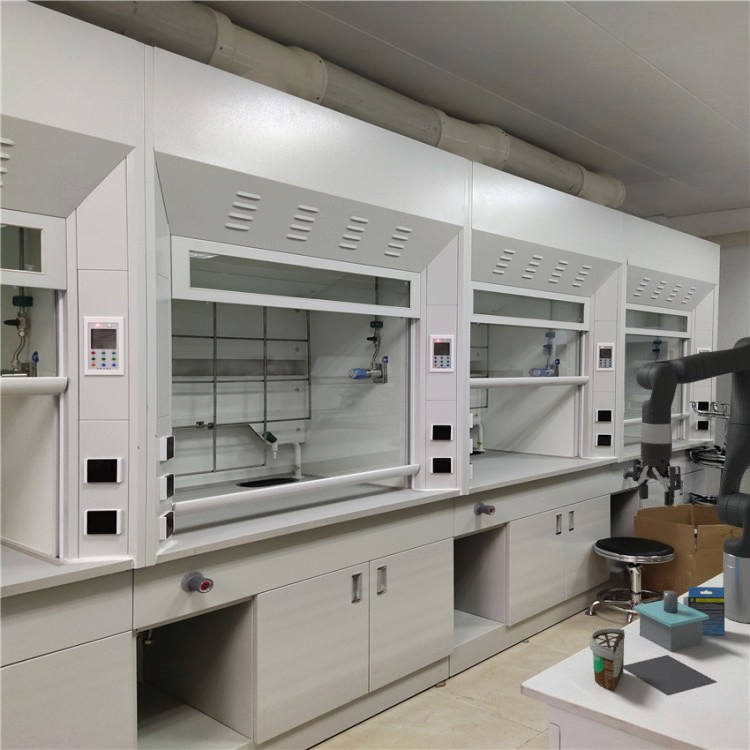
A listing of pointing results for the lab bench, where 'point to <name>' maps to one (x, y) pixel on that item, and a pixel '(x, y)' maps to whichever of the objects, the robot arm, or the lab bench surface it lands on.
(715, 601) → the label tape cartridge
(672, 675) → the mat
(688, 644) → the tub
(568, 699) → the lab bench surface
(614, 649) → the food container
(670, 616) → the lid
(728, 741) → the lab bench surface
